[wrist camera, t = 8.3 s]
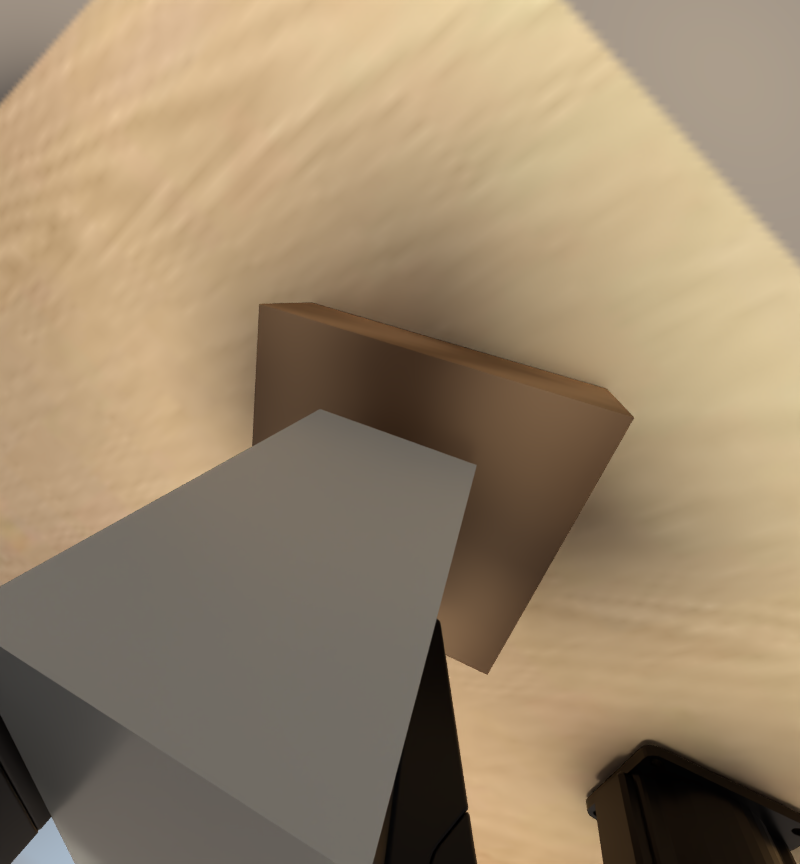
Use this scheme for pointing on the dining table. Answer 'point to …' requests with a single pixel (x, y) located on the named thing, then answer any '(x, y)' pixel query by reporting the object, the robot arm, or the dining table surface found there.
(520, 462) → the stand
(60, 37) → the dining table surface
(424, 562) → the block
